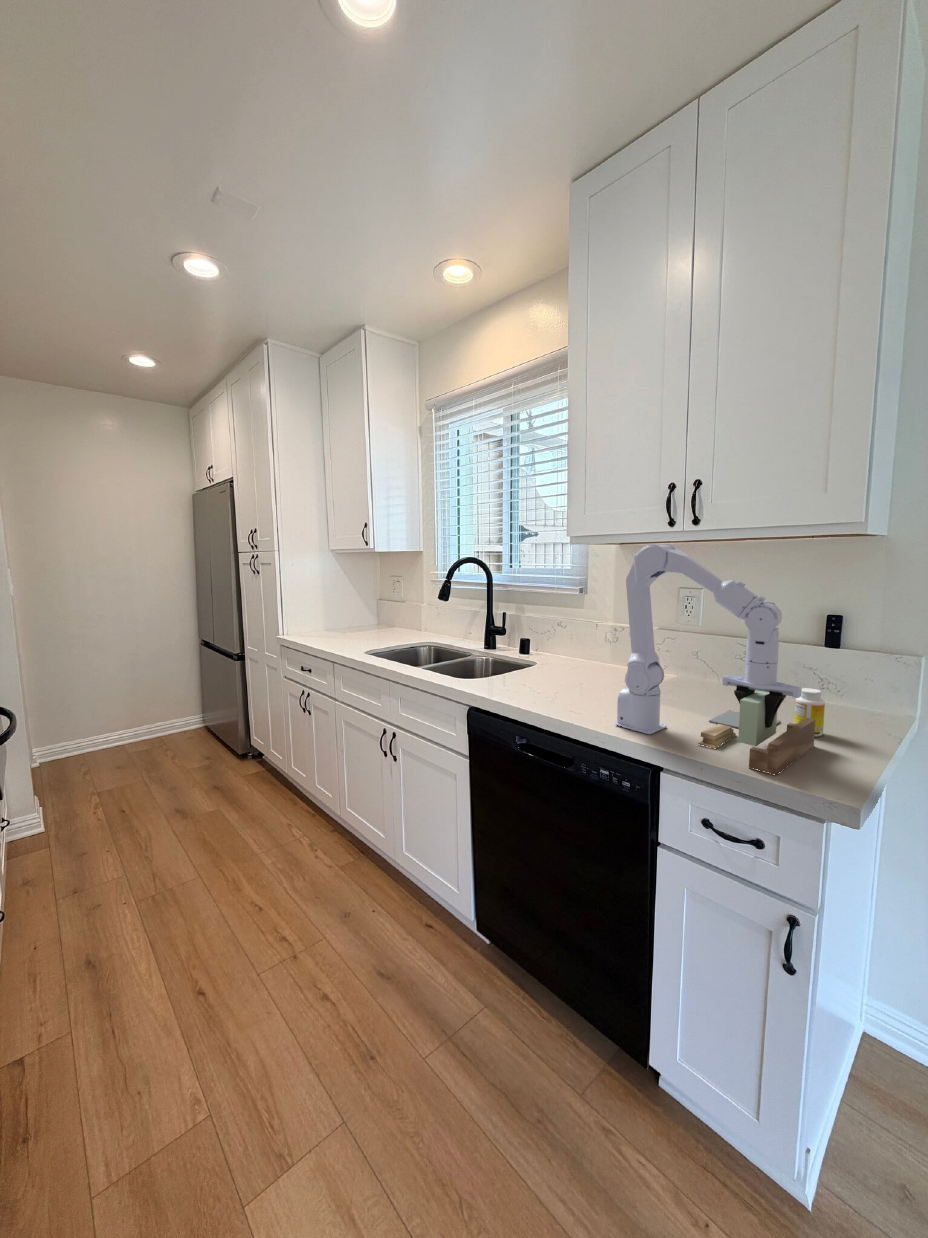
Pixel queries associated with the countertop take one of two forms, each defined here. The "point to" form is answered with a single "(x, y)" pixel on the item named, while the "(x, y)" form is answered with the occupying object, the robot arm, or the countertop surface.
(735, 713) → the slate mat
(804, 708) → the supplement bottle
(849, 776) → the countertop surface
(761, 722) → the tall sage green prism
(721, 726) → the offcut stack
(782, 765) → the walnut rack
